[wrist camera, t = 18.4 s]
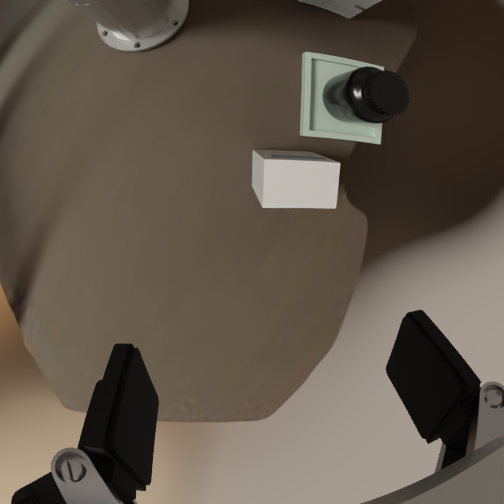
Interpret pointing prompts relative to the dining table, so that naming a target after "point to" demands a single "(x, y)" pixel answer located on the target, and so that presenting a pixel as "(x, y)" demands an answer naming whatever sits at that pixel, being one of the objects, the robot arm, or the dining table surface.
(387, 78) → the supplement bottle
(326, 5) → the skincare box
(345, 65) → the tray
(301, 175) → the unit
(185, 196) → the dining table surface
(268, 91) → the dining table surface
